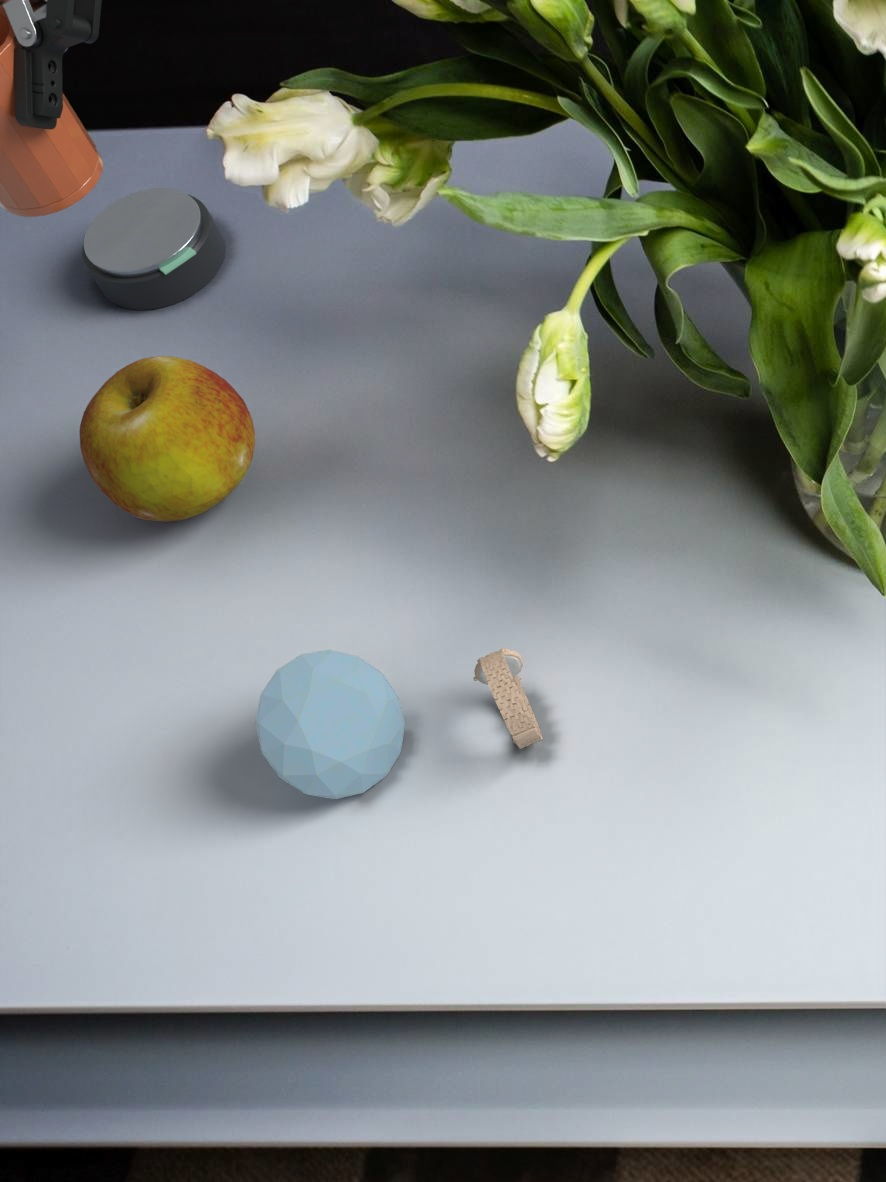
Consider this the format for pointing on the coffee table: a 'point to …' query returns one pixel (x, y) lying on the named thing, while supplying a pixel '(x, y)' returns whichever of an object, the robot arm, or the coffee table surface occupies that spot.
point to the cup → (40, 150)
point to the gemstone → (330, 724)
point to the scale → (153, 249)
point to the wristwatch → (509, 694)
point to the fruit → (166, 438)
